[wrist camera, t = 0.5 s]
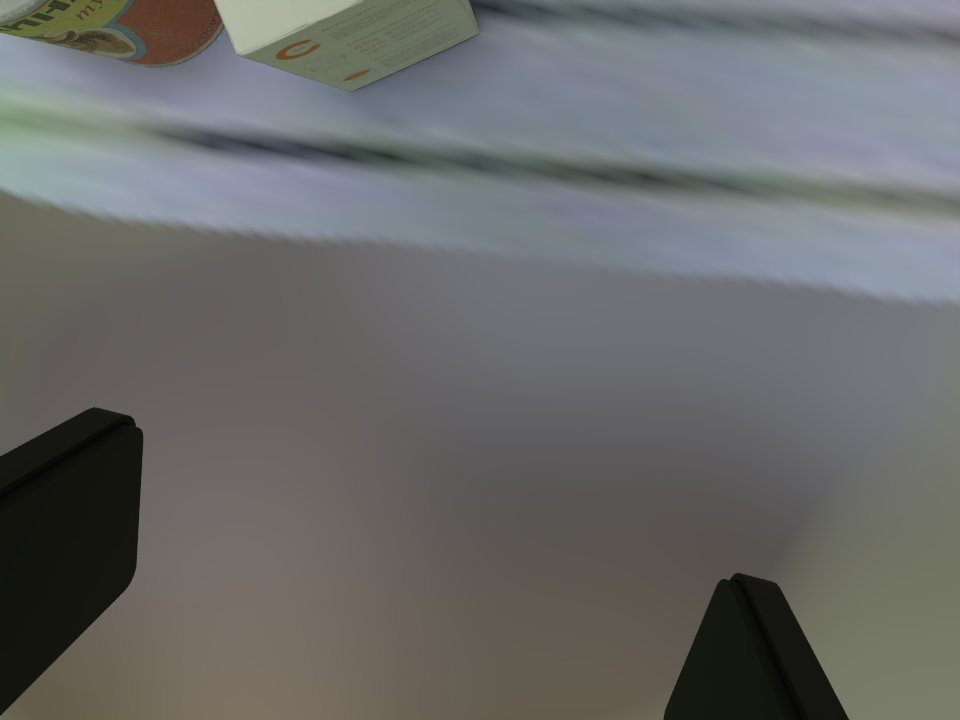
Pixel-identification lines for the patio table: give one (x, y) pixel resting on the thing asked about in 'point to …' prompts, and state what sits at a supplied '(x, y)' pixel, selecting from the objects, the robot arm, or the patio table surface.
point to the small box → (345, 35)
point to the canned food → (118, 27)
